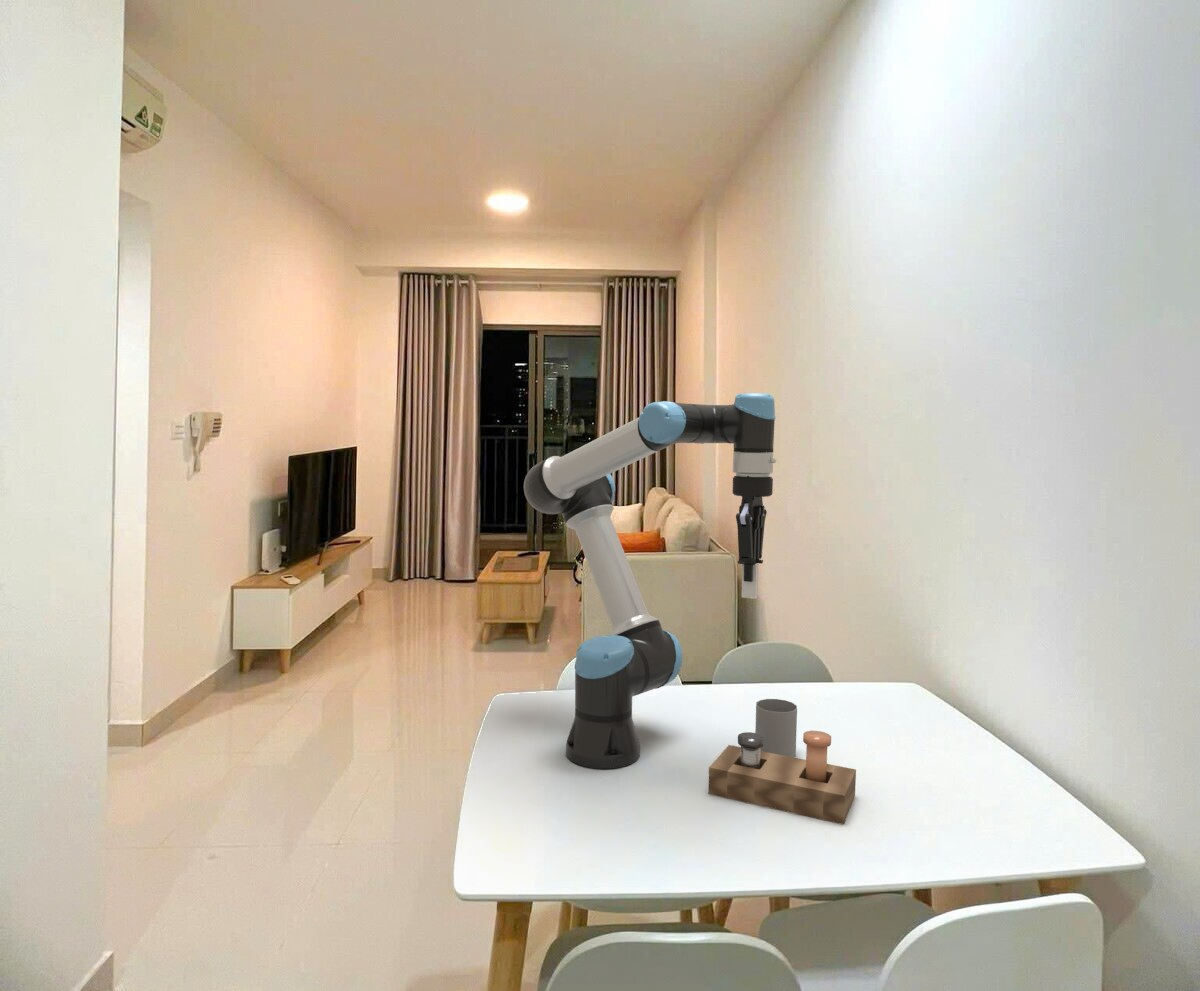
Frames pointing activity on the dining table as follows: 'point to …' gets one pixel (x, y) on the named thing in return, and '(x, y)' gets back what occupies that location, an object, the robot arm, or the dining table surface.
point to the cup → (777, 726)
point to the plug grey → (750, 749)
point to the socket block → (783, 785)
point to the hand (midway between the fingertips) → (749, 597)
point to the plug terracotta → (816, 755)
